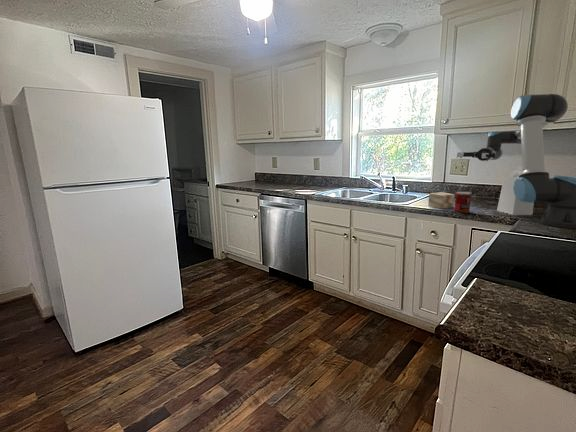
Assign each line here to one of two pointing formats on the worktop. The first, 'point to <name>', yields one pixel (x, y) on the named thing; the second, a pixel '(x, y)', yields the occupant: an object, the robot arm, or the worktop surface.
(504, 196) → the milk
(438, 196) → the maple brick
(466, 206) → the canned food
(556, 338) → the worktop surface
